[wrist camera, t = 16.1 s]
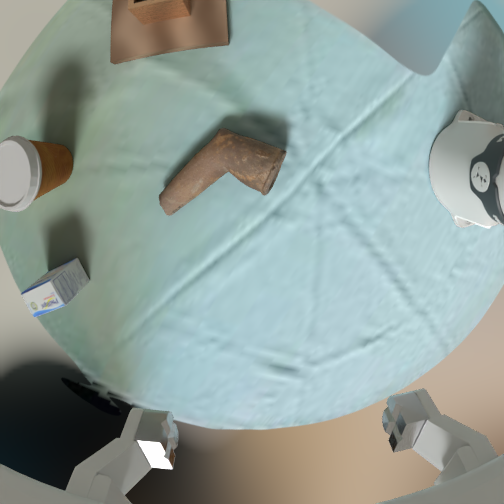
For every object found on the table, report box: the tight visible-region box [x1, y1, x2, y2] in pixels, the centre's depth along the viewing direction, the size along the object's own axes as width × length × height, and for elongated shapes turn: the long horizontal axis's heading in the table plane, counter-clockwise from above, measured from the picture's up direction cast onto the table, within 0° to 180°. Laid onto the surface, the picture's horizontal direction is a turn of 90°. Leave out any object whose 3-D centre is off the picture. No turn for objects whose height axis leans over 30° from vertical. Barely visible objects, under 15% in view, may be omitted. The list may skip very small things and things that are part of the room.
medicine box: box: [21, 258, 90, 317], centre depth 41 cm, size 8×4×9 cm, turn 111°
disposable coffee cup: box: [0, 136, 73, 212], centre depth 33 cm, size 10×10×12 cm
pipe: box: [159, 128, 287, 215], centre depth 38 cm, size 6×17×10 cm
